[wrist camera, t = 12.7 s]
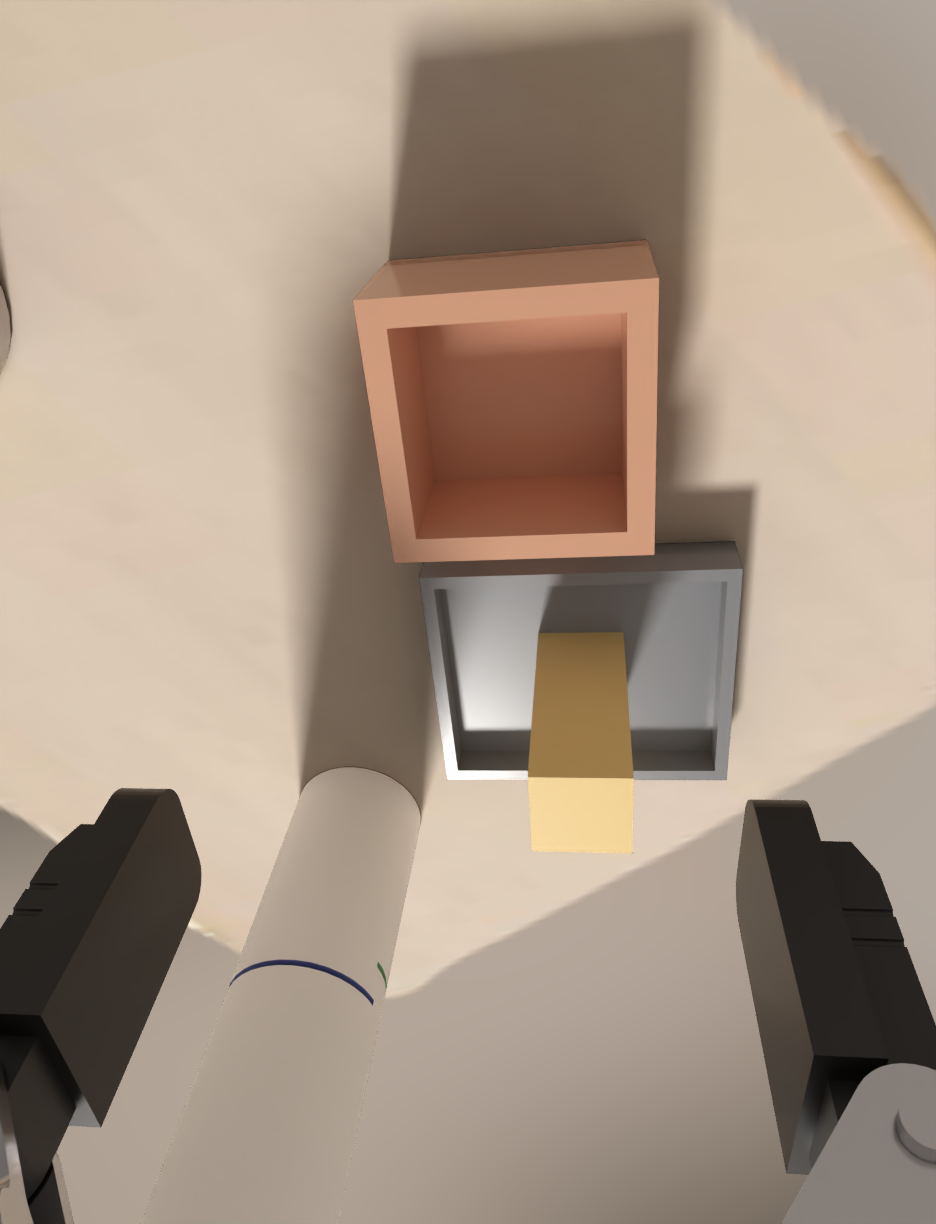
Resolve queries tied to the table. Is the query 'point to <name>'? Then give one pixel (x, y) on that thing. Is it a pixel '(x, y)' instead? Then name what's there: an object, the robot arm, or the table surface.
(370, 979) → the cylindrical container
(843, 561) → the table surface
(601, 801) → the ochre block
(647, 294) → the terracotta storage bin
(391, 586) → the table surface
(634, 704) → the grey tray
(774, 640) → the table surface
